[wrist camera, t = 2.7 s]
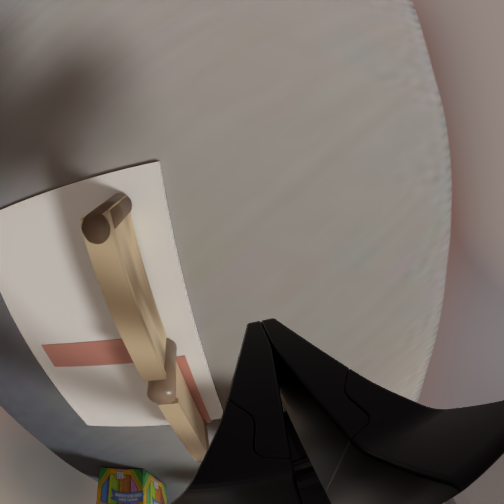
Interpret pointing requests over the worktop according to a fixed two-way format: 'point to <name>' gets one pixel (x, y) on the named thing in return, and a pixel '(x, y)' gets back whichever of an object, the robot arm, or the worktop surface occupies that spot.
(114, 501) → the chalk box
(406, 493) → the robot arm
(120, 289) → the folding fence panel
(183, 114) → the worktop surface
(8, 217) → the fence post and layout card
